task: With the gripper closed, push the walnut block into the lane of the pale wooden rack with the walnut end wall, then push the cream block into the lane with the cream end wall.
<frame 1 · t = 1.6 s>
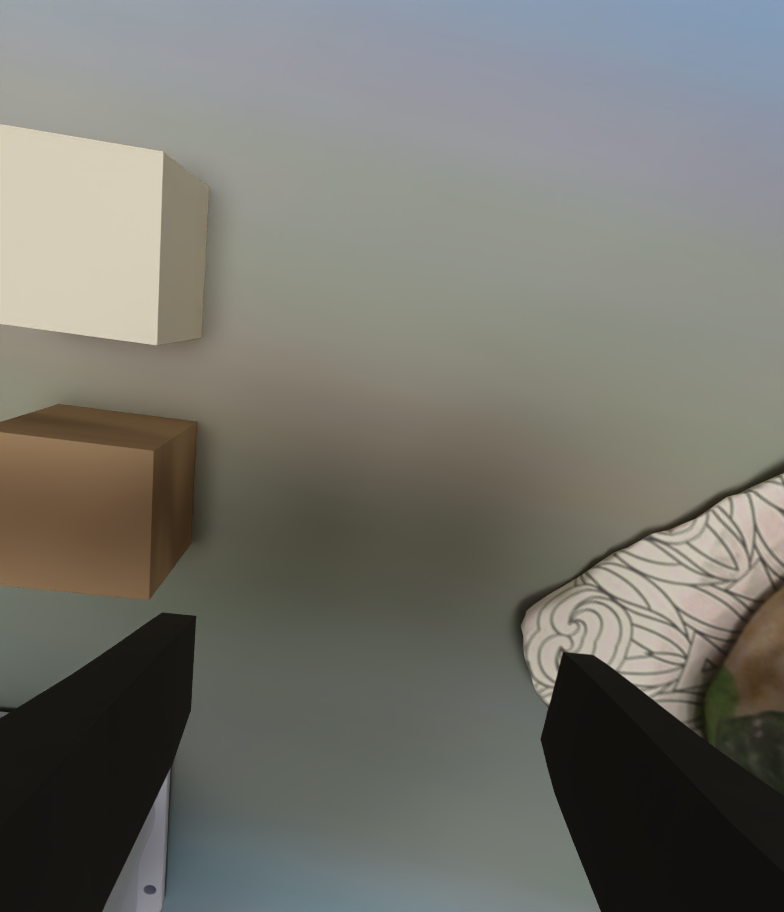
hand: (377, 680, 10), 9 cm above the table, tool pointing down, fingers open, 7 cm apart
walnut block: (128, 475, 19), on the table
cream block: (133, 254, 17), on the table
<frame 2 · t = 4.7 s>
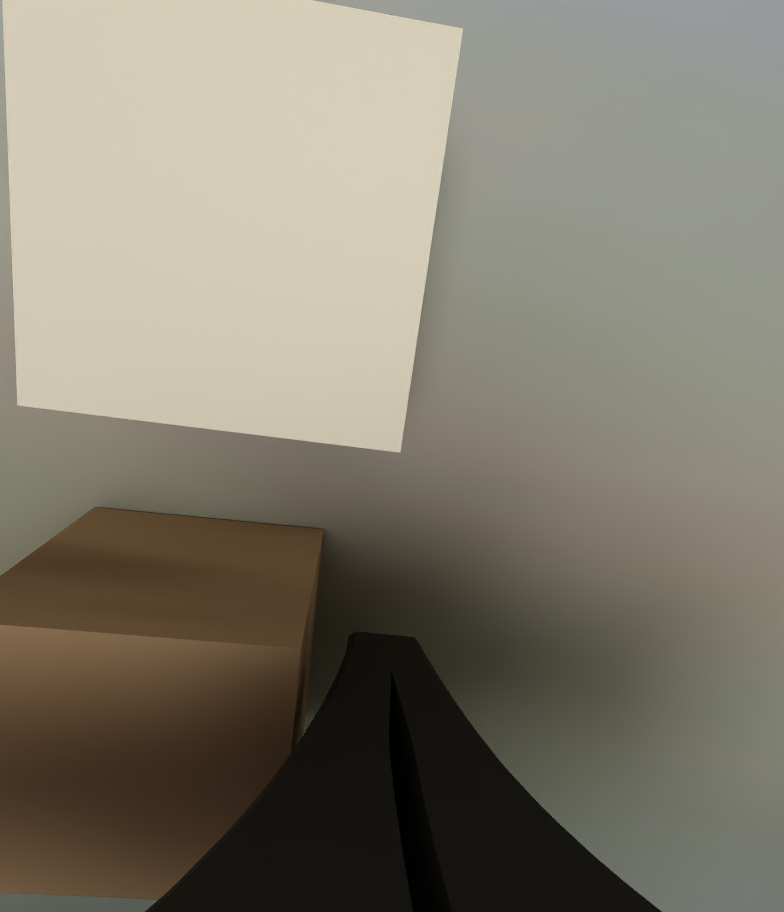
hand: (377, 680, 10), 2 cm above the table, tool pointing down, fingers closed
walnut block: (206, 617, 11), on the table, touching gripper
cream block: (281, 261, 10), on the table
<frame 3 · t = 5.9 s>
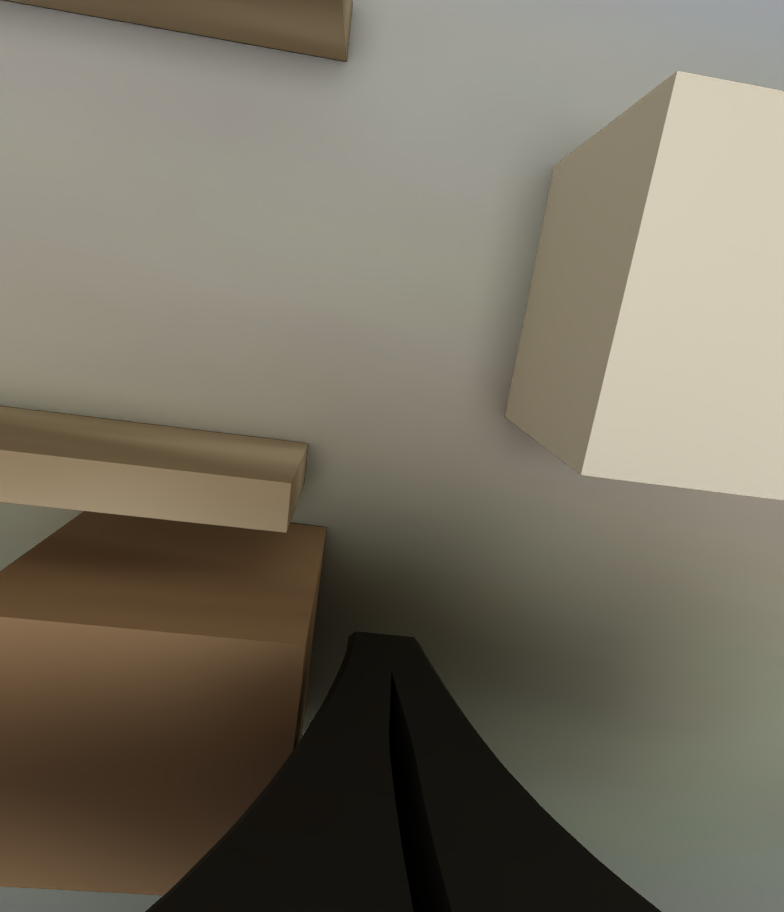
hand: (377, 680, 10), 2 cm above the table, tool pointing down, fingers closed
walnut block: (207, 614, 11), on the table, touching gripper
cream block: (640, 315, 10), on the table
lane rack: (12, 428, 10), on the table
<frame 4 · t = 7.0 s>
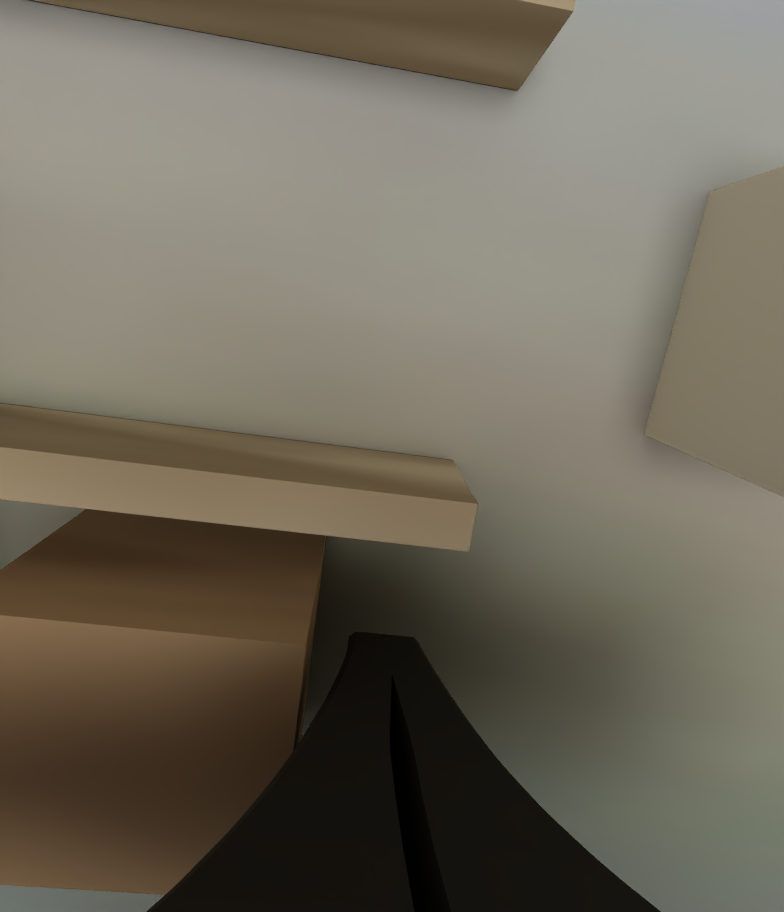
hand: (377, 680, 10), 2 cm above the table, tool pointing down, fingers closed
walnut block: (208, 613, 11), on the table, touching gripper
cream block: (781, 336, 11), on the table
lane rack: (168, 444, 10), on the table
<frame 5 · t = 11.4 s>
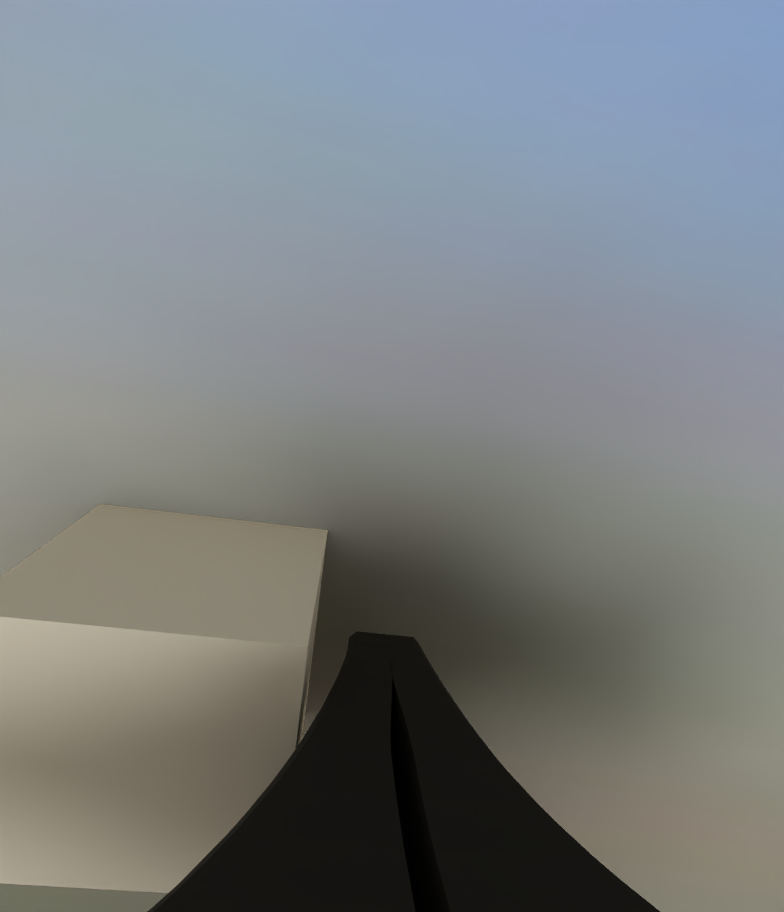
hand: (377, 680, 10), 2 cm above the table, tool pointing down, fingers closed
cream block: (209, 615, 11), on the table, touching gripper
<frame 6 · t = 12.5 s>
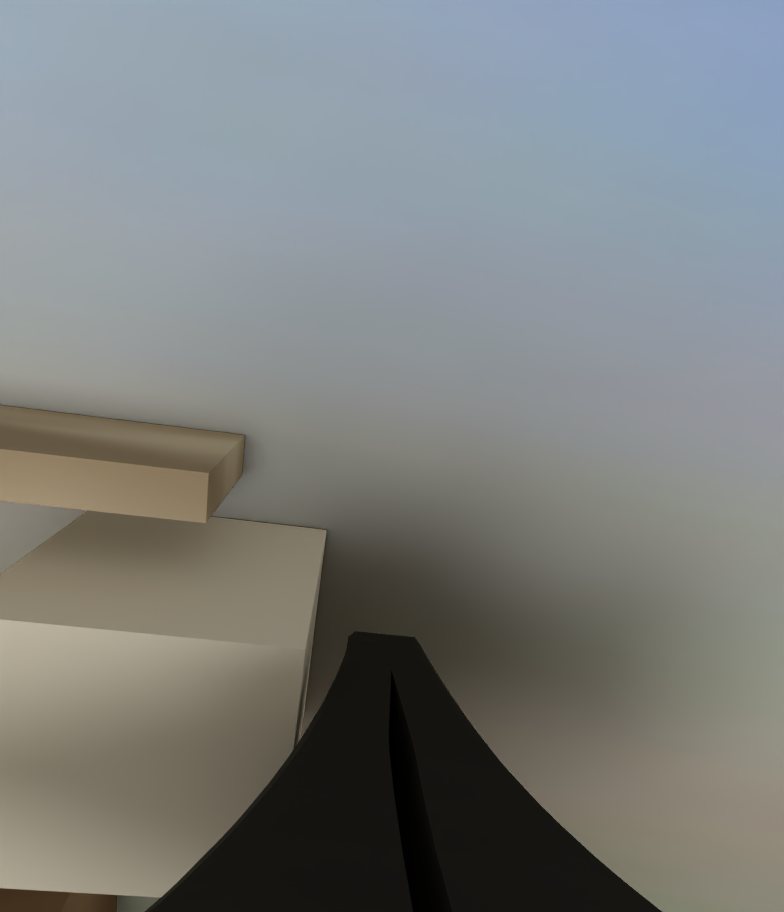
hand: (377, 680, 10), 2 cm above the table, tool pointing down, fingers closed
walnut block: (22, 862, 13), on the table
cream block: (207, 616, 11), on the table, touching gripper
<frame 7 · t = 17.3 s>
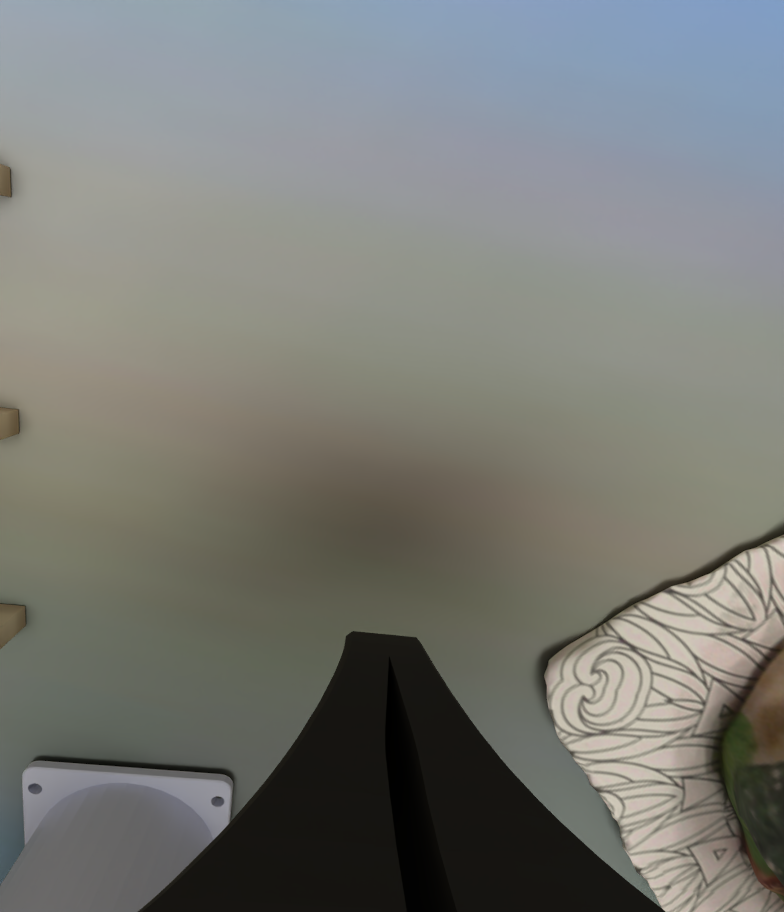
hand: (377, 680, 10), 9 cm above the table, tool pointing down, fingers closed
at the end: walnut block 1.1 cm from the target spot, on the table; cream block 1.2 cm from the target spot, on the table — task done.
